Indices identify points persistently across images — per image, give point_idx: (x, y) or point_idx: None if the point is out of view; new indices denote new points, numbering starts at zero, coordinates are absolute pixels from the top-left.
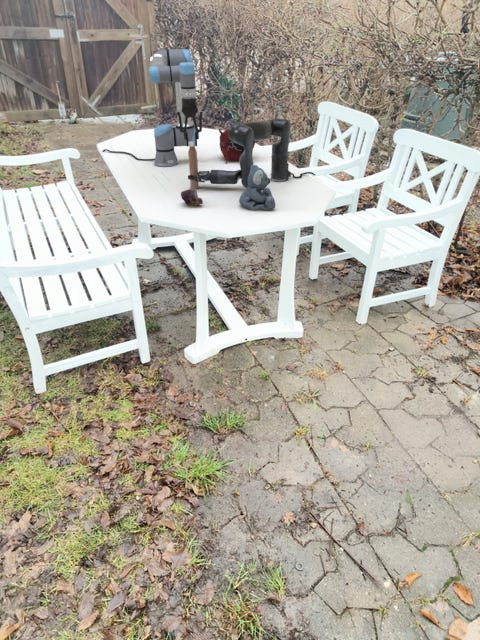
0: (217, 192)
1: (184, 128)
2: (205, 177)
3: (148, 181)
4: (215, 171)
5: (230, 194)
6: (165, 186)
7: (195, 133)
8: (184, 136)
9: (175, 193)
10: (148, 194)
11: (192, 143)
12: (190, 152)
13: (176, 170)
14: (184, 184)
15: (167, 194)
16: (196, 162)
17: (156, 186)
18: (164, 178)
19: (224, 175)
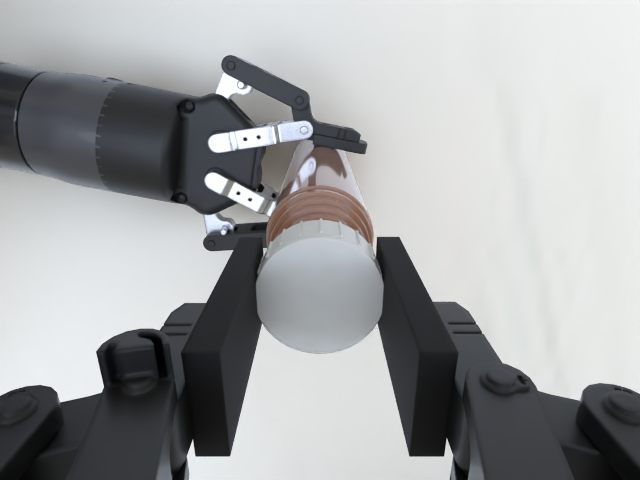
0: (159, 56)
1: (556, 469)
2: (219, 95)
3: (601, 299)
4: (121, 125)
5: (60, 3)
6: (506, 202)
7: (201, 351)
8: (474, 333)
9: (447, 53)
10: (633, 42)
11: (305, 236)
12: (343, 195)
13: (431, 459)
14: (387, 233)
15: (503, 33)
16: (284, 182)
17: (562, 206)
18: (503, 343)
19: (47, 81)
